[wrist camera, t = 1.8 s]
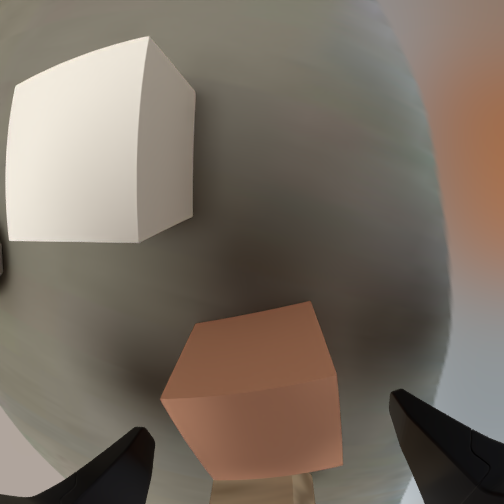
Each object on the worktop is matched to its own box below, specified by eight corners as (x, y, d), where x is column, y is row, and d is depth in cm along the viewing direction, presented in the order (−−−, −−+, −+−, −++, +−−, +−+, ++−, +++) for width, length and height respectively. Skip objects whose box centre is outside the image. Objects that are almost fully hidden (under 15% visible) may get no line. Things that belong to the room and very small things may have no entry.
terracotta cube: (324, 386, 12) (343, 464, 8) (227, 402, 13) (214, 480, 8) (310, 299, 11) (336, 374, 6) (195, 322, 12) (159, 398, 7)
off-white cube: (193, 216, 11) (138, 242, 6) (89, 217, 11) (9, 240, 6) (196, 93, 9) (149, 35, 5) (92, 109, 10) (15, 86, 5)
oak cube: (312, 475, 15) (317, 529, 10) (248, 487, 15) (244, 538, 10) (290, 444, 14) (294, 511, 9) (217, 458, 14) (206, 518, 9)
